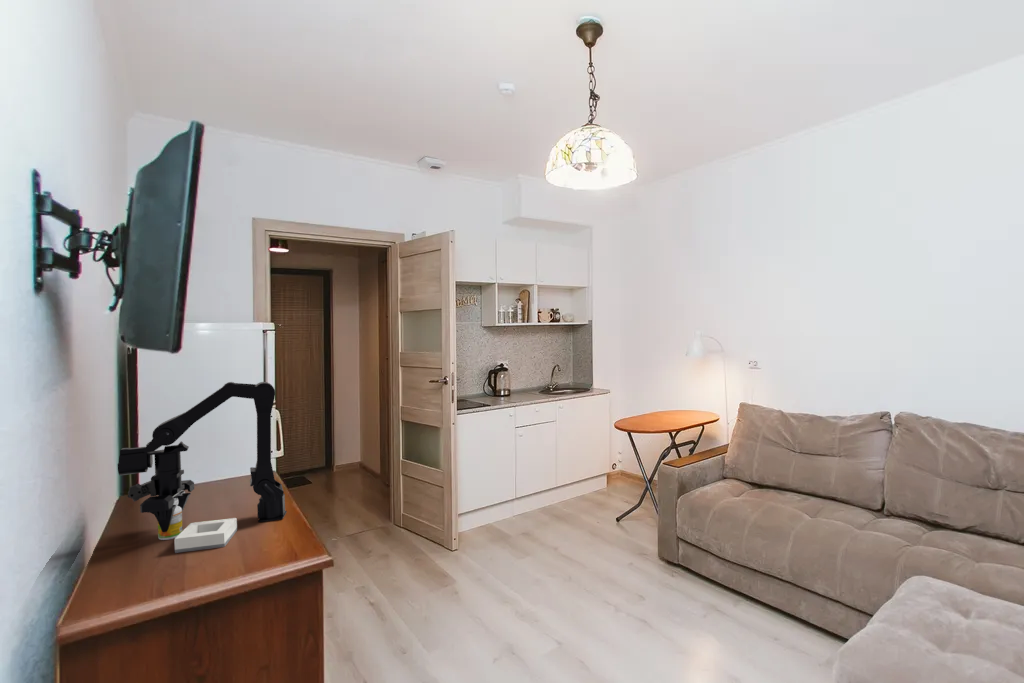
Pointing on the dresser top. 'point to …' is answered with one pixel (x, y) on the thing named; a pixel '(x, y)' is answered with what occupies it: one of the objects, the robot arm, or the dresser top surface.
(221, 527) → the socket block
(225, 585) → the dresser top surface
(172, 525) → the supplement bottle
